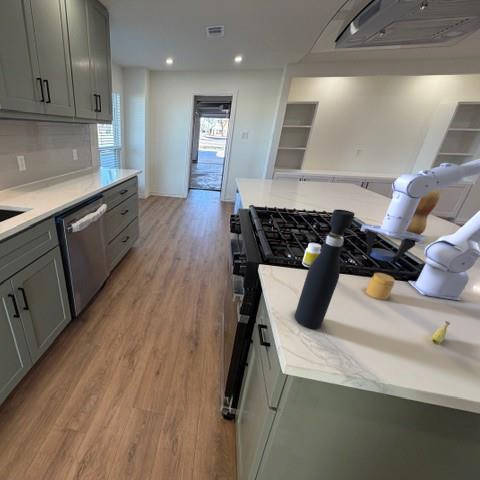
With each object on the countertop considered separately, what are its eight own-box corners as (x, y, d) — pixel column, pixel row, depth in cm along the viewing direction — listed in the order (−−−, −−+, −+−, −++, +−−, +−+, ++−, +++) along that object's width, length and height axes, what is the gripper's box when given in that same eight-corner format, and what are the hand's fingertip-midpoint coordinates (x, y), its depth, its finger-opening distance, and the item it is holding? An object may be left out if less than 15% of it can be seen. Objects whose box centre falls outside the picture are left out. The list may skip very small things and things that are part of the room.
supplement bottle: (318, 269, 92) (324, 248, 89) (304, 267, 93) (310, 246, 90) (313, 262, 97) (319, 243, 93) (300, 261, 97) (305, 241, 94)
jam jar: (381, 290, 81) (389, 273, 78) (391, 301, 76) (400, 282, 73) (362, 288, 82) (369, 271, 79) (371, 298, 77) (379, 280, 74)
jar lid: (385, 263, 75) (388, 258, 75) (364, 254, 80) (366, 249, 80) (398, 260, 77) (400, 255, 77) (377, 251, 83) (379, 247, 82)
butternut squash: (411, 245, 115) (437, 191, 105) (377, 235, 126) (397, 184, 115) (423, 240, 121) (449, 188, 111) (390, 230, 132) (410, 182, 122)
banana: (436, 331, 64) (443, 319, 63) (445, 336, 63) (453, 323, 61) (426, 345, 60) (434, 332, 58) (436, 350, 59) (445, 336, 57)
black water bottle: (289, 312, 69) (320, 207, 57) (311, 312, 70) (346, 207, 58) (303, 329, 64) (341, 216, 52) (327, 328, 64) (370, 216, 52)
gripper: (366, 213, 75) (351, 254, 81) (435, 225, 67) (412, 270, 72) (368, 208, 80) (353, 247, 85) (431, 219, 72) (411, 261, 77)
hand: (380, 257), depth 79 cm, fingers closed on jar lid, 6 cm apart
